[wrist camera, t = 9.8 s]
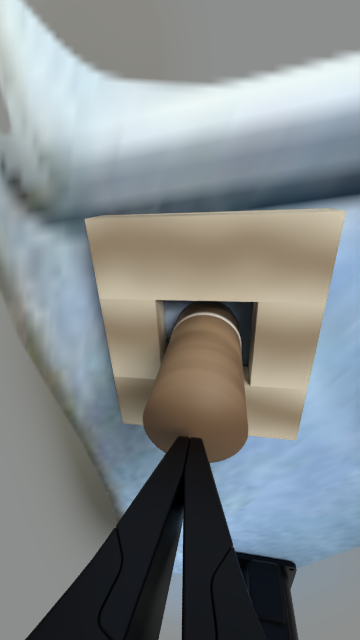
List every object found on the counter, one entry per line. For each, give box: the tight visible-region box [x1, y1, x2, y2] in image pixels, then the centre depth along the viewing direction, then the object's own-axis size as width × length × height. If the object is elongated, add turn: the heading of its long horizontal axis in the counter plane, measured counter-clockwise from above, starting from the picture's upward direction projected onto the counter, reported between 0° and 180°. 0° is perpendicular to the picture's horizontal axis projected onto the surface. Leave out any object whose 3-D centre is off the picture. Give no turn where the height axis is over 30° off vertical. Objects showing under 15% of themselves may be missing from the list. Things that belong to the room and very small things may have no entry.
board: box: [85, 208, 346, 440], centre depth 16 cm, size 14×12×2 cm
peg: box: [143, 301, 248, 463], centre depth 13 cm, size 4×4×8 cm
